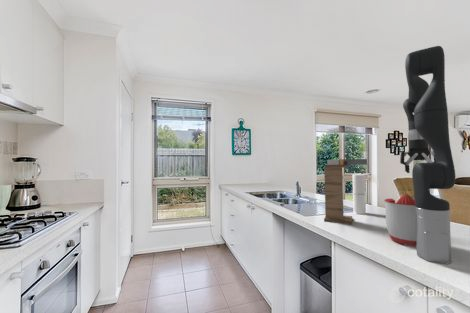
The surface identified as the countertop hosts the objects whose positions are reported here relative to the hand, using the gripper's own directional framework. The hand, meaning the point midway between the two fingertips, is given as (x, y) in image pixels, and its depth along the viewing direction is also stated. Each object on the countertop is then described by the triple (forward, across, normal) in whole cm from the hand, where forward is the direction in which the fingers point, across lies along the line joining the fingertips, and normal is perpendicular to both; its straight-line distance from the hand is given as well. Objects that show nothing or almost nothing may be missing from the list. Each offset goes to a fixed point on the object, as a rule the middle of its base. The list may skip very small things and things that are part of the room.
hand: (419, 173), depth 108 cm
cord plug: (-4, -31, +8) cm, 32 cm away
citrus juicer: (+28, -9, -17) cm, 34 cm away
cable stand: (+28, -36, +8) cm, 46 cm away
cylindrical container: (+28, -24, +33) cm, 50 cm away
